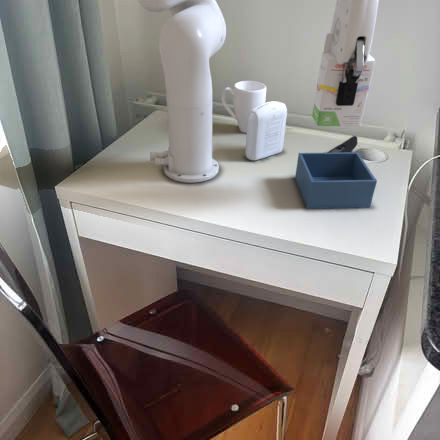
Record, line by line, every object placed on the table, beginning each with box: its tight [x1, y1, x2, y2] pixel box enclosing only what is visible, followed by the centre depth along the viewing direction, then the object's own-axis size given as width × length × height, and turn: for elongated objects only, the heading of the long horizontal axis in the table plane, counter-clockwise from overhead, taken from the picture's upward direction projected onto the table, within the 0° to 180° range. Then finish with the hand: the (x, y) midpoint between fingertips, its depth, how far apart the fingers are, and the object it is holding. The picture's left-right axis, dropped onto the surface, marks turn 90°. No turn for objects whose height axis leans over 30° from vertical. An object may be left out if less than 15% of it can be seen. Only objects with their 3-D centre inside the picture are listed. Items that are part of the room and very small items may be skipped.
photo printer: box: [244, 100, 288, 161], centre depth 108 cm, size 10×4×12 cm, turn 128°
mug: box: [220, 80, 267, 134], centre depth 120 cm, size 12×8×11 cm
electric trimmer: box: [326, 135, 358, 153], centre depth 110 cm, size 4×16×3 cm, turn 142°
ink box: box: [311, 32, 376, 127], centre depth 83 cm, size 9×5×15 cm, turn 93°
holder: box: [294, 151, 378, 210], centre depth 96 cm, size 13×13×6 cm
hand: (340, 98), depth 85 cm, fingers closed on ink box, 5 cm apart
